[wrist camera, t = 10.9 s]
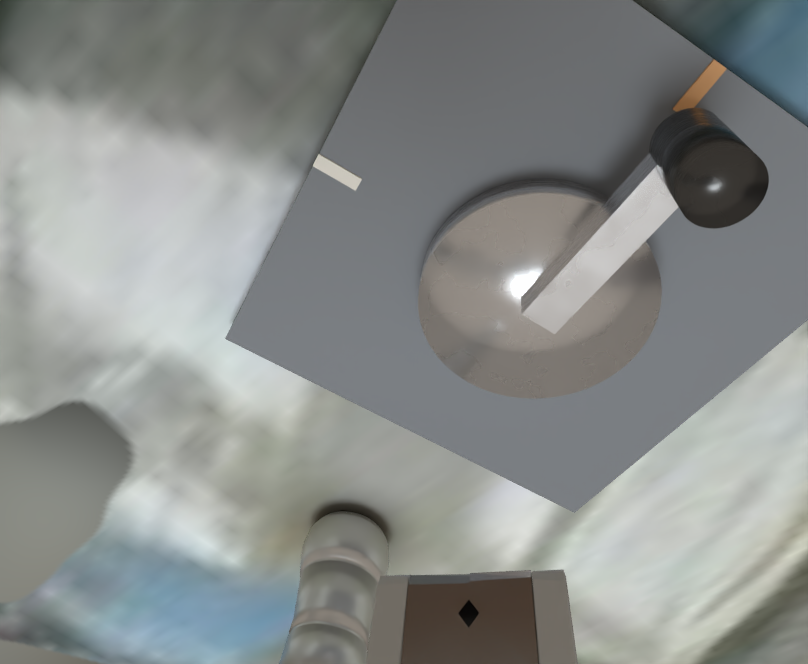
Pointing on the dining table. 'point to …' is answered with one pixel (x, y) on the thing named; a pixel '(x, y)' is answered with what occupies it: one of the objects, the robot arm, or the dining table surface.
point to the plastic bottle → (337, 591)
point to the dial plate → (511, 162)
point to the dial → (575, 263)
